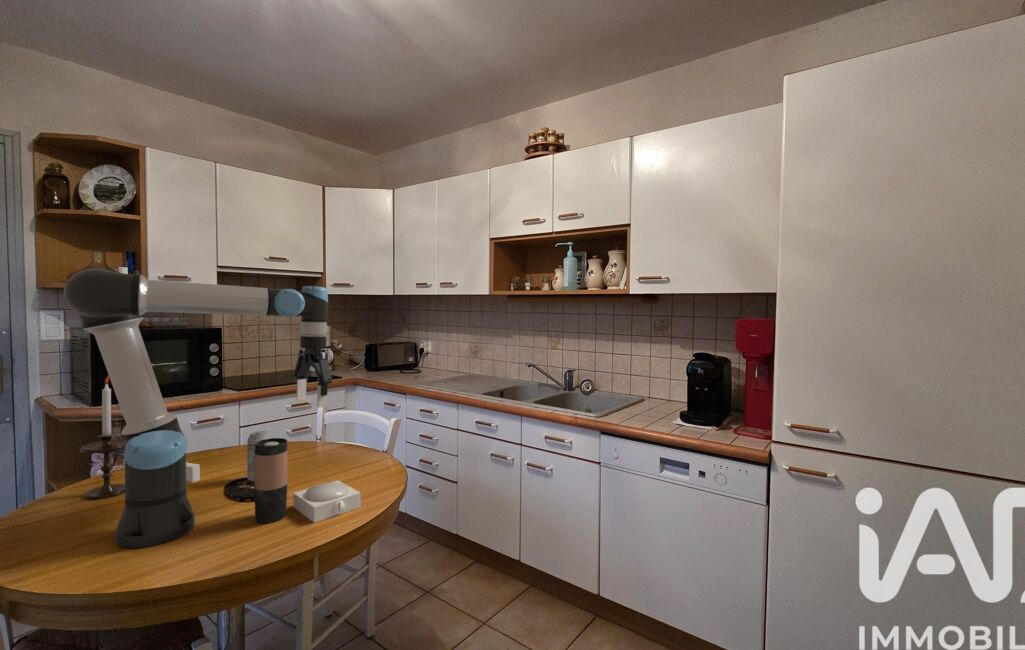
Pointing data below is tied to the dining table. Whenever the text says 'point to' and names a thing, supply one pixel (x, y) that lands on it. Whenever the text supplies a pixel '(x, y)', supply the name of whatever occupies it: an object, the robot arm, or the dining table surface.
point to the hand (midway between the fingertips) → (311, 402)
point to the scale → (326, 500)
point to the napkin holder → (192, 472)
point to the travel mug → (270, 480)
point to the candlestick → (105, 451)
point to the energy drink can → (253, 451)
